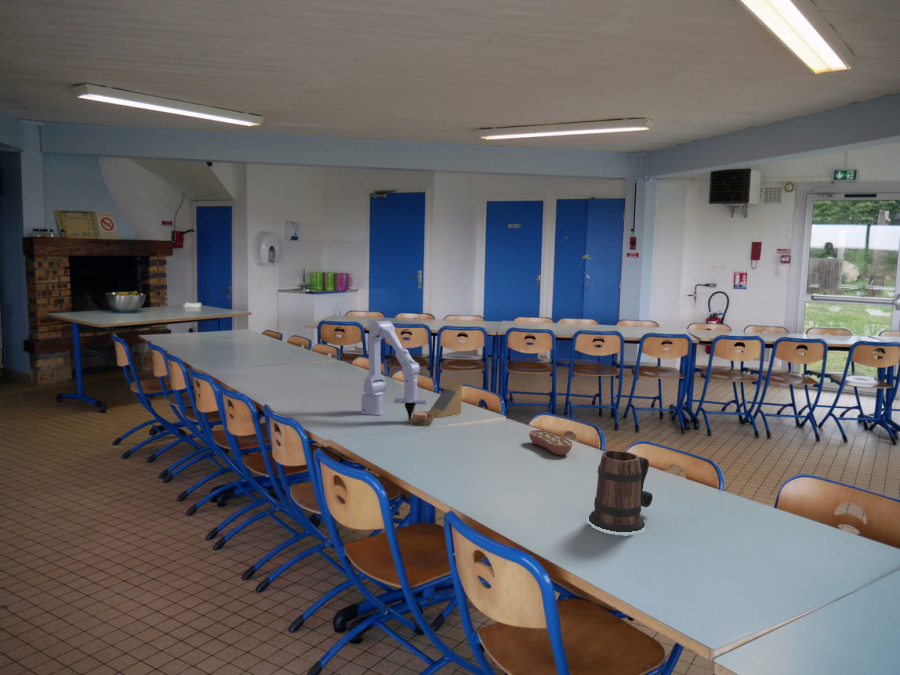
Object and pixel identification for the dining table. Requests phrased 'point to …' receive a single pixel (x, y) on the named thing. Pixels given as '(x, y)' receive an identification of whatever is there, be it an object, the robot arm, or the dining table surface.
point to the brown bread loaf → (551, 441)
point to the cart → (418, 414)
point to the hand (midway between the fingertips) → (410, 419)
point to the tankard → (620, 492)
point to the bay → (422, 420)
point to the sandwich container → (448, 401)
